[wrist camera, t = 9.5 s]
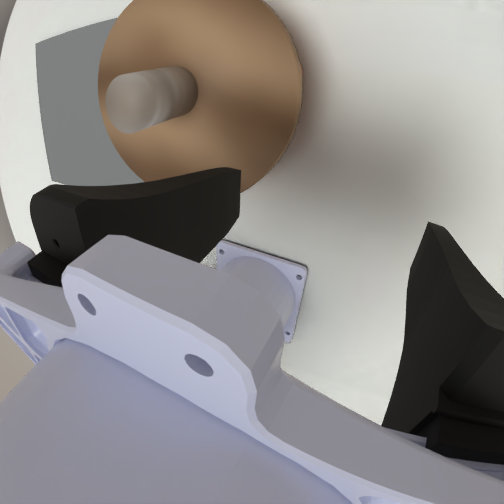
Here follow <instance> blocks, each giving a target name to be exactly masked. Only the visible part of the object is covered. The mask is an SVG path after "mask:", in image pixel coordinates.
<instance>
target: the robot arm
mask: <svg viewBox="0 0 504 504" xmlns="http://www.w3.org/2000/svg"><path fill="white" fill-rule="evenodd" d="M240 189H241V170H239V169H234V168H229V167H219V168H213V169H207V170H203V171H198V172H193V173H189V174H185V175H180V176H175V177H170V178H165V179H161V180H155V181H149V182H142V183H134V184H122V185H110V186H75V185H58V184H54V185H50V186H48V187H46V188H44V189H43V190H41V191H39V192H38V193H36V194H34V195H33V197H32V199H31V202H30V215H31V219H32V223H33V226H34V229H35V232H36V235H37V239H38V242H39V244H40V247H41V250H42V251H41V252H40V253H39V254H37V255H35V253H34V252H33V251H32V250H31V249H30V248H29V247H27V246H25V245H24V244H22V243H21V242H16V243H15V244H14V245H12V246H11V247H9V248H8V249H7V250H5V251H4V252H3V253H1V254H0V326H1V327H2V328H3V329H4V330H5V332H6V333H7V334H8V335H9V336H10V337H11V338H12V339H13V340H14V342H15V343H16V344H17V345H18V346H19V347H20V348H21V349H22V350H23V351H24V353H25V354H26V355H27V356H28V357H29V358H30V359H31V360H32V361H33V362H34V363H35V364H36V365H35V366H34V367H33V368H32V369H31V370H30V371H29V372H28V374H27V375H26V376H25V377H24V378H23V379H22V380H21V381H20V382H19V383H18V384H17V385H16V386H15V387H14V388H13V389H12V390H11V391H10V392H9V394H8V395H7V396H6V397H5V398H4V399H3V400H2V401H1V402H0V504H504V298H503V297H502V296H501V295H500V294H499V293H498V292H497V291H496V290H495V289H494V288H493V287H492V286H491V285H490V284H489V283H488V282H487V280H486V279H485V278H484V277H483V276H482V275H481V273H480V272H479V271H478V270H477V268H476V267H475V266H474V265H473V264H472V262H471V261H470V260H469V258H468V257H467V256H466V254H465V253H464V252H463V250H462V249H461V248H460V246H459V245H458V244H457V242H456V241H455V240H454V238H453V237H452V236H451V234H450V233H449V232H448V231H447V230H446V229H445V228H444V227H442V226H439V225H437V224H434V223H431V222H428V224H427V227H426V230H425V232H424V235H423V238H422V240H421V243H420V245H419V248H418V251H417V253H416V256H415V258H414V261H413V263H412V265H411V268H410V274H409V280H408V287H407V300H406V320H405V335H404V344H403V351H402V356H401V360H400V365H399V369H398V373H397V377H396V381H395V384H394V388H393V392H392V395H391V398H390V402H389V405H388V408H387V411H386V414H385V417H384V420H383V423H382V425H381V426H380V425H378V424H376V423H374V422H372V421H371V420H369V419H367V418H365V417H363V416H361V415H359V414H357V413H356V412H354V411H352V410H350V409H348V408H346V407H345V406H343V405H341V404H339V403H337V402H336V401H334V400H332V399H330V398H329V397H327V396H325V395H323V394H322V393H320V392H318V391H316V390H315V389H313V388H311V387H310V386H308V385H306V384H305V383H303V382H301V381H300V380H298V379H296V378H295V377H293V376H291V375H290V374H288V373H286V372H285V371H283V370H282V369H281V368H280V359H281V354H282V350H283V345H284V342H285V343H290V342H291V341H292V338H293V334H294V330H295V326H296V321H297V317H298V313H299V308H300V304H301V299H302V295H303V290H304V286H305V281H306V276H307V269H306V267H305V266H303V265H300V264H296V263H293V262H290V261H287V260H284V259H281V258H278V257H274V256H271V255H268V254H265V253H262V252H259V251H256V250H252V249H249V248H246V247H243V246H240V245H237V244H234V243H230V242H227V241H224V240H222V239H223V238H224V237H225V236H226V234H227V233H228V232H229V231H230V229H231V228H232V226H233V225H234V223H235V222H236V220H237V219H238V217H239V212H240ZM216 245H217V269H214V268H211V267H208V266H206V265H203V264H200V262H201V261H202V260H203V259H204V258H205V257H206V256H207V255H208V254H209V253H210V251H211V250H212V249H213V248H214V247H215V246H216ZM221 249H222V250H223V251H224V252H223V251H222V250H221ZM298 275H300V276H302V277H299V276H298Z"/></svg>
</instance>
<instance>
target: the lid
mask: <svg viewBox="0 0 504 504" xmlns="http://www.w3.org/2000/svg"><path fill="white" fill-rule="evenodd" d="M302 88H303V86H302V75H301V67H300V63H299V58H298V54H297V51H296V48H295V46H294V43H293V41H292V38H291V36H290V34H289V32H288V30H287V29H286V27H285V25H284V24H283V22H282V21H281V19H280V18H279V17H278V16H277V14H276V13H275V12H274V11H273V9H272V8H271V7H270V6H268V5H267V4H266V3H265V2H264V1H263V0H133V1H132V2H131V3H130V4H129V5H128V6H127V7H126V8H125V10H124V11H123V12H122V13H121V15H120V16H119V17H118V19H117V20H116V22H115V23H114V25H113V27H112V28H111V30H110V32H109V35H108V37H107V39H106V41H105V44H104V47H103V51H102V54H101V59H100V63H99V71H98V97H99V105H100V110H101V115H102V118H103V121H104V125H105V127H106V130H107V132H108V135H109V137H110V139H111V141H112V143H113V145H114V147H115V149H116V150H117V152H118V153H119V155H120V156H121V158H122V159H123V160H124V162H125V163H126V164H127V165H128V167H129V168H130V169H131V170H132V171H133V172H134V173H135V174H136V175H137V176H138V177H139V178H141V179H142V180H143V181H144V182H149V181H155V180H161V179H165V178H170V177H175V176H180V175H185V174H189V173H193V172H198V171H203V170H207V169H213V168H219V167H229V168H234V169H239V170H241V189H240V193H241V192H243V191H245V190H247V189H249V188H250V187H251V186H253V185H254V184H255V183H257V182H258V181H259V180H260V179H262V178H263V177H264V176H265V175H266V174H267V173H268V172H269V171H270V170H271V169H272V168H273V167H274V166H275V165H276V164H277V163H278V161H279V160H280V158H281V157H282V155H283V154H284V153H285V151H286V149H287V147H288V145H289V143H290V141H291V140H292V138H293V135H294V132H295V129H296V126H297V123H298V120H299V115H300V110H301V105H302Z"/></svg>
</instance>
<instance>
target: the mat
mask: <svg viewBox="0 0 504 504" xmlns="http://www.w3.org/2000/svg"><path fill="white" fill-rule="evenodd" d="M117 19H118V18H115V19H111V20H107V21H103V22H99V23H96V24H92V25H89V26H85V27H82V28H79V29H75V30H72V31H69V32H66V33H63V34H60V35H58V36H55V37H52V38H49V39H47V40H44V41H41V42H39V43H36V68H37V83H38V94H39V104H40V113H41V121H42V128H43V135H44V141H45V147H46V153H47V159H48V164H49V169H50V174H51V179H52V181H55V182H59V183H62V184H66V185H75V186H110V185H122V184H134V183H142V182H144V181H143V180H142V179H141V178H139V177H138V176H137V175H136V174H135V173H134V172H133V171H132V170H131V169H130V168H129V167H128V165H127V164H126V163H125V162H124V160H123V159H122V158H121V156H120V155H119V153H118V152H117V150H116V149H115V147H114V145H113V143H112V141H111V139H110V137H109V135H108V132H107V130H106V127H105V125H104V121H103V118H102V115H101V110H100V105H99V97H98V71H99V63H100V59H101V54H102V51H103V47H104V44H105V41H106V39H107V37H108V35H109V32H110V30H111V28H112V27H113V25H114V23H115V22H116V20H117Z"/></svg>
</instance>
